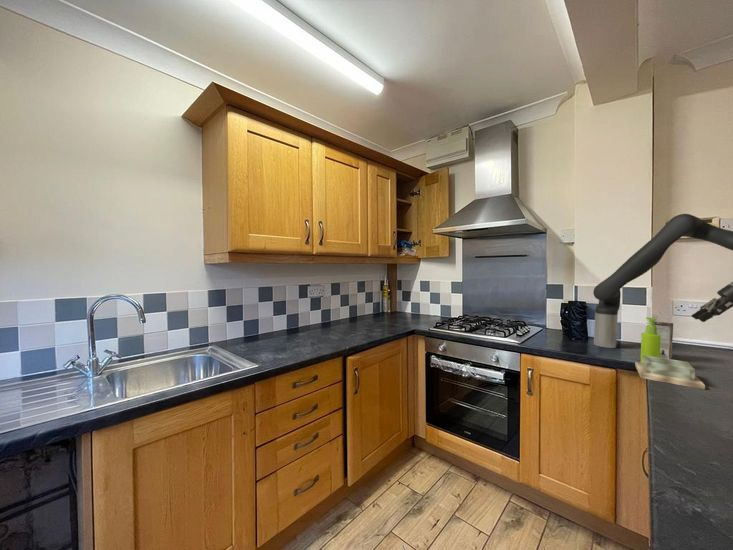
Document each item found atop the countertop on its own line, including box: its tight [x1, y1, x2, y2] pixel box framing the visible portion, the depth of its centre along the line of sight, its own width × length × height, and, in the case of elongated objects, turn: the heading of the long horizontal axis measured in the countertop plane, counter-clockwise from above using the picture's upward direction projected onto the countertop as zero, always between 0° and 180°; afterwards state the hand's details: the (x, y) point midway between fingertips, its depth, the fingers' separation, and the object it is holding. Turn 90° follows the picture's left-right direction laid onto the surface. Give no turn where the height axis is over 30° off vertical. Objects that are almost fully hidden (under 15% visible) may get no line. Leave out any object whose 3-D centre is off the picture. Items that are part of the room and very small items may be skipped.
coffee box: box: [654, 321, 674, 359], centre depth 136 cm, size 9×6×16 cm
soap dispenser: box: [639, 316, 661, 363], centre depth 125 cm, size 6×7×20 cm
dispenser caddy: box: [634, 355, 706, 390], centre depth 112 cm, size 16×18×6 cm
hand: (696, 319), depth 118 cm, fingers open, 8 cm apart
